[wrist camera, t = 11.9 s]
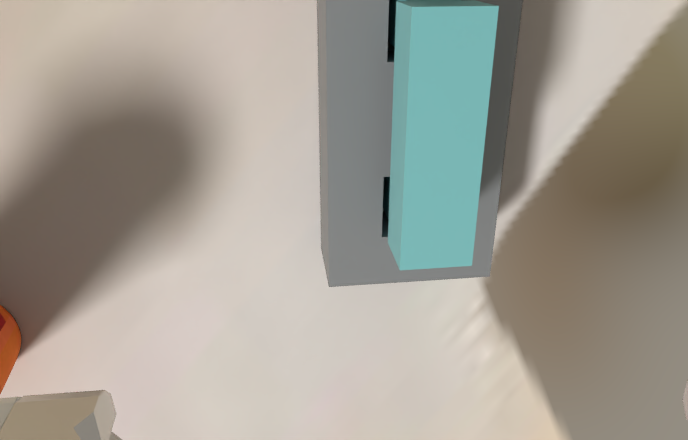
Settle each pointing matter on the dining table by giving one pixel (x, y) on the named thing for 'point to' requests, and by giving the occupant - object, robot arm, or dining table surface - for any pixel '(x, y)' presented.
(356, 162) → the gray socket block
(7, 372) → the paper cup
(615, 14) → the dining table surface
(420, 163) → the notched turquoise block
